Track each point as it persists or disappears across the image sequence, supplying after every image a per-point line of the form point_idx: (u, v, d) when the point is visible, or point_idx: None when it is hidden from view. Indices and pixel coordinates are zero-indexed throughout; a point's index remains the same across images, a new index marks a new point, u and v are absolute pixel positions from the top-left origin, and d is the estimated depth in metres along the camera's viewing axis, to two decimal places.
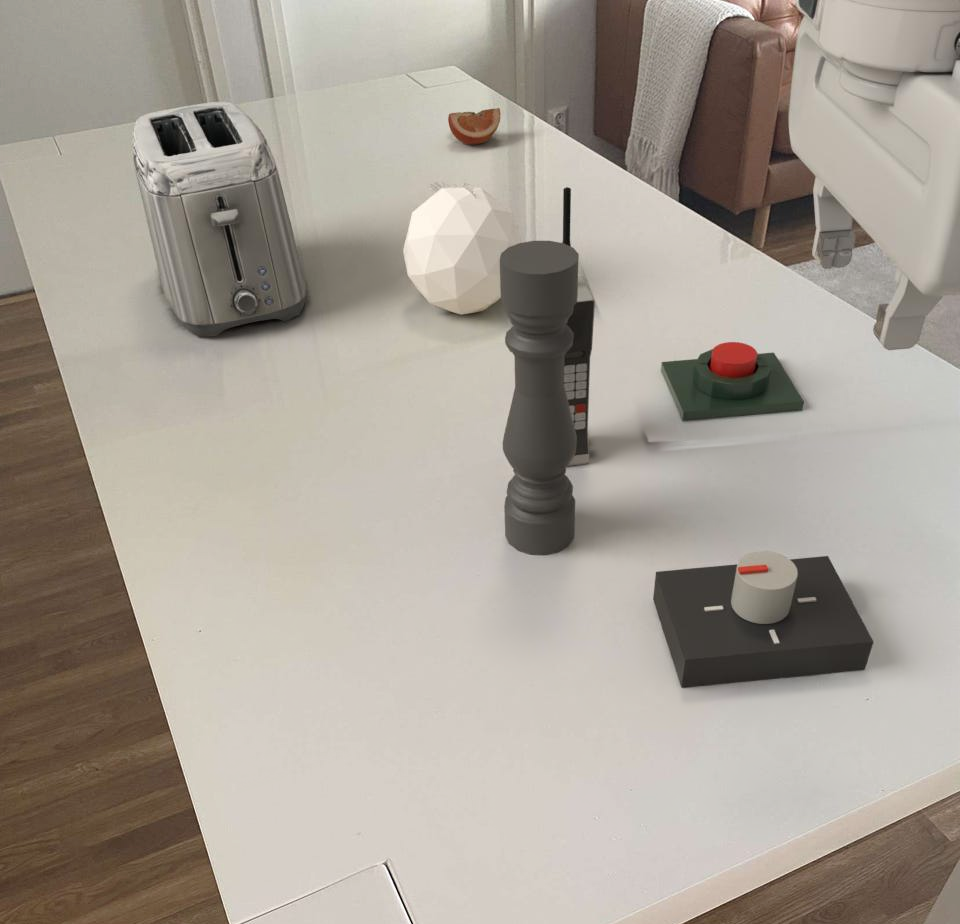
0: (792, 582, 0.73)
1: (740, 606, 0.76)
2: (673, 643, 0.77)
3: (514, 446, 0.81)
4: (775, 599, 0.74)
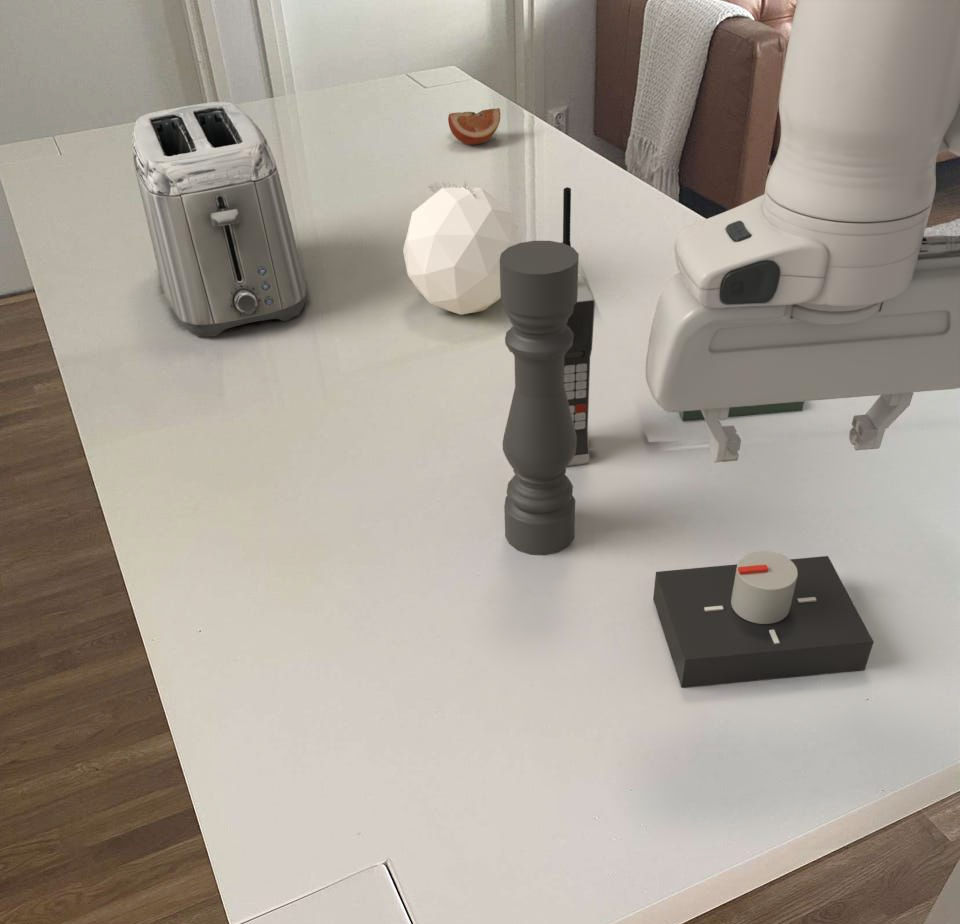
0: (792, 582, 0.73)
1: (740, 606, 0.76)
2: (673, 643, 0.77)
3: (514, 446, 0.81)
4: (775, 599, 0.74)
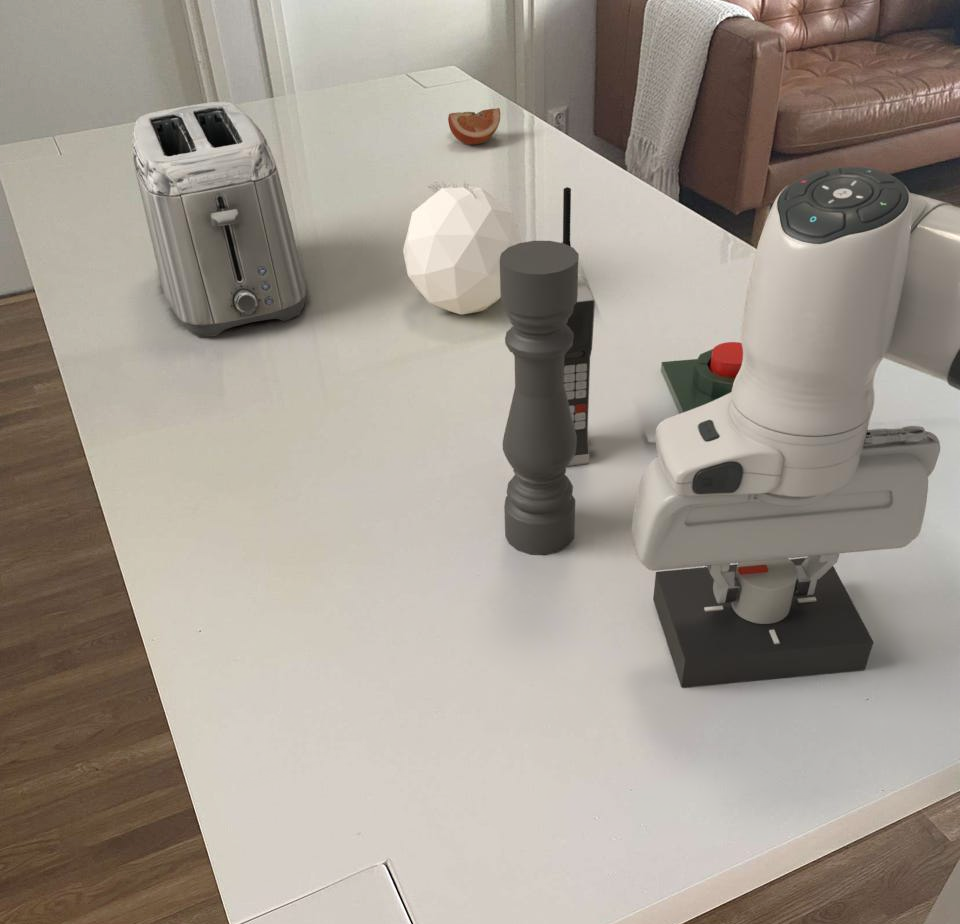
0: (792, 582, 0.73)
1: (740, 606, 0.76)
2: (673, 643, 0.77)
3: (514, 446, 0.81)
4: (775, 599, 0.74)
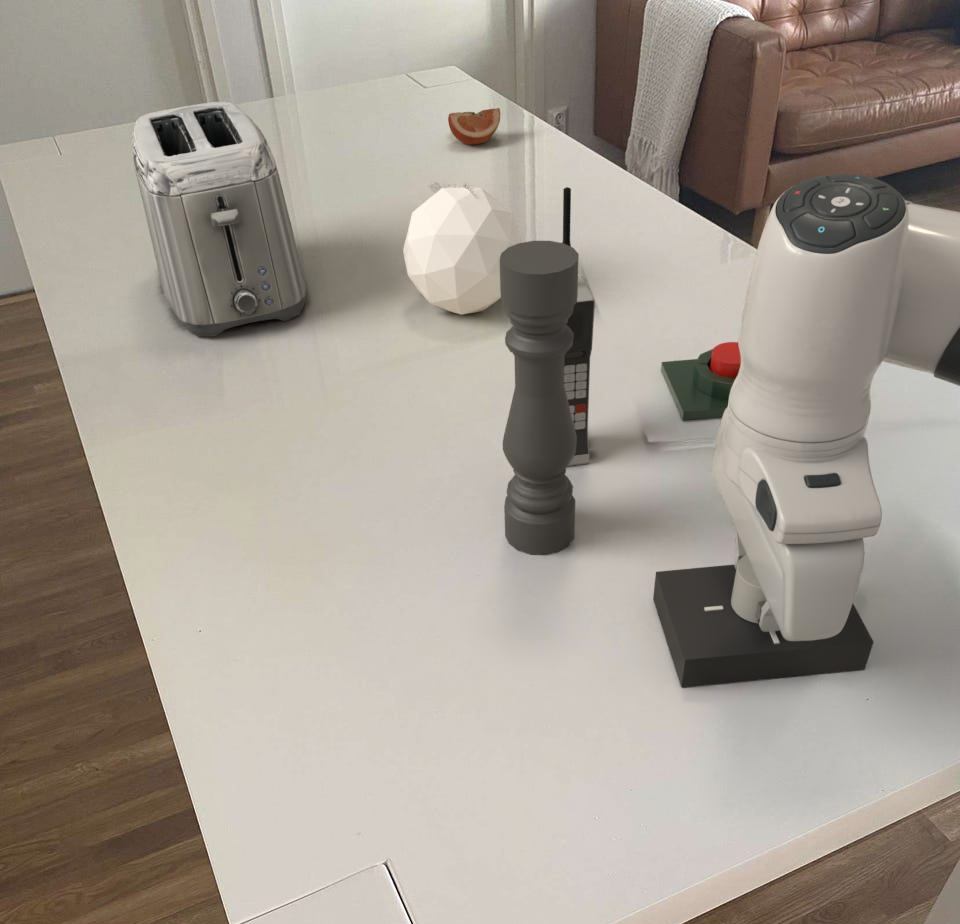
0: None
1: None
2: (673, 643, 0.77)
3: (514, 446, 0.81)
4: None
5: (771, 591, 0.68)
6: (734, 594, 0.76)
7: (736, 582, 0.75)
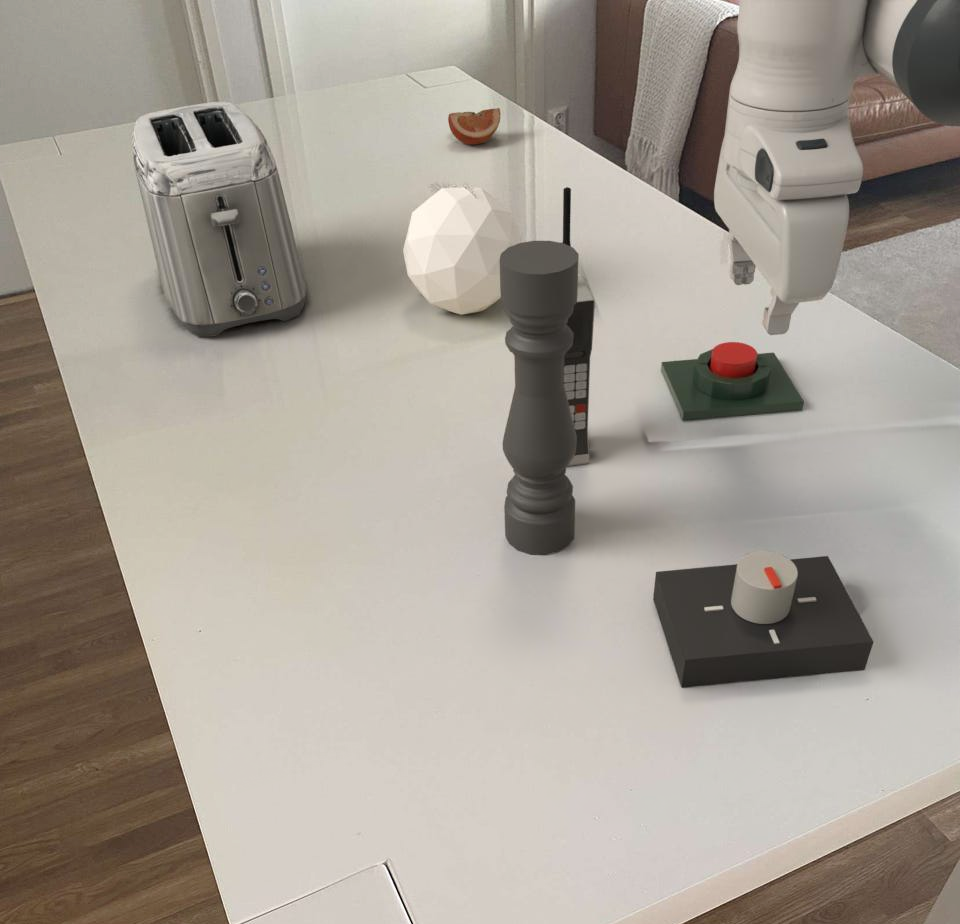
0: (781, 555, 0.76)
1: (784, 610, 0.75)
2: (673, 643, 0.77)
3: (514, 446, 0.81)
4: None
5: (769, 266, 0.78)
6: (734, 594, 0.76)
7: (736, 582, 0.75)
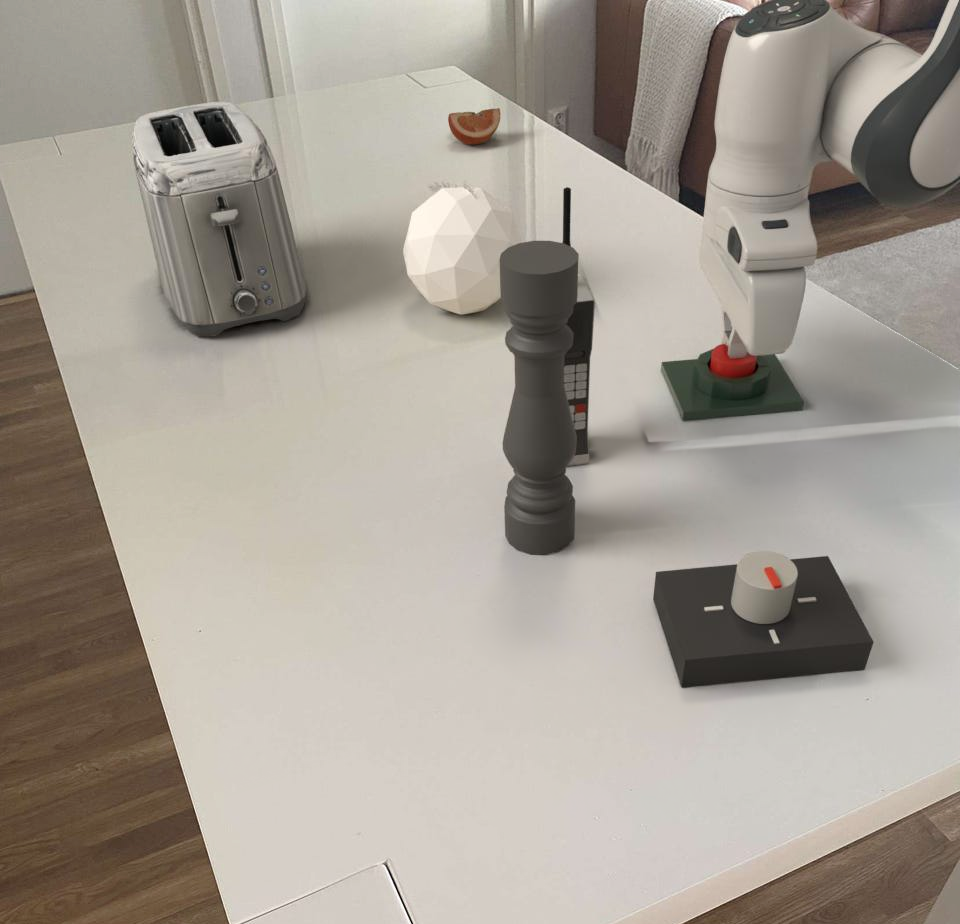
0: (781, 555, 0.76)
1: (784, 610, 0.75)
2: (673, 643, 0.77)
3: (514, 446, 0.81)
4: None
5: (740, 323, 0.91)
6: (734, 594, 0.76)
7: (736, 582, 0.75)
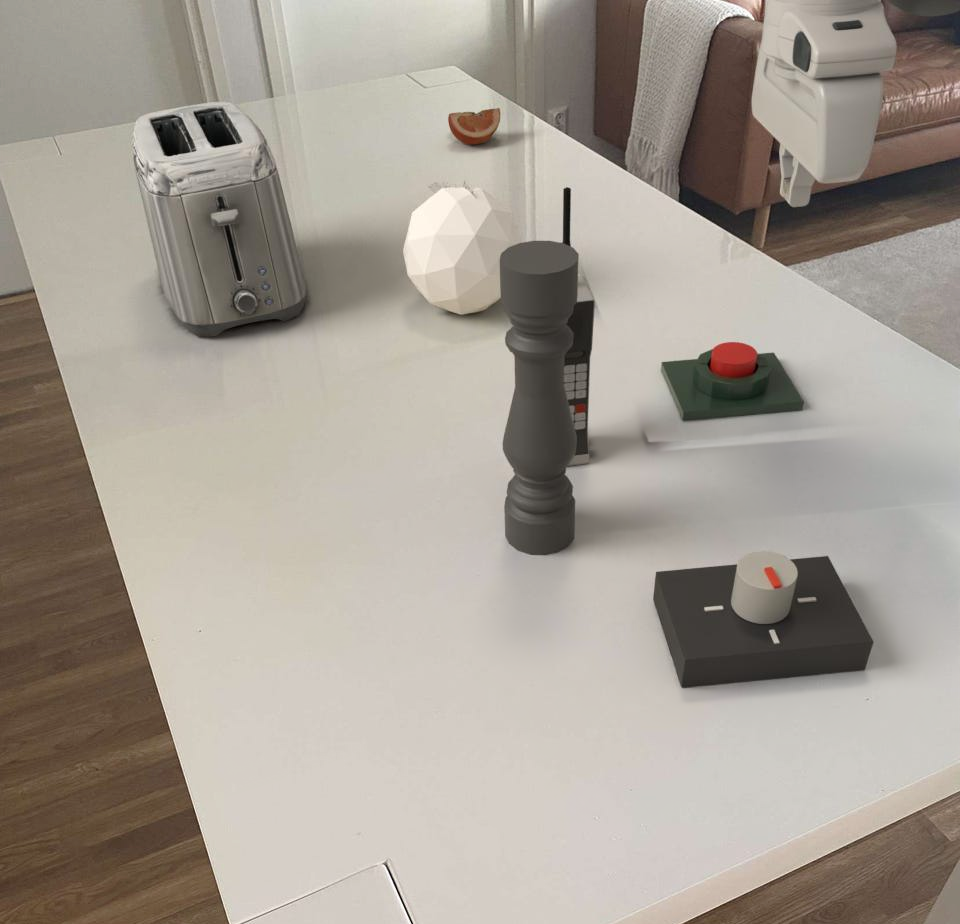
0: (781, 555, 0.76)
1: (784, 610, 0.75)
2: (673, 643, 0.77)
3: (514, 446, 0.81)
4: None
5: (806, 150, 0.82)
6: (734, 594, 0.76)
7: (736, 582, 0.75)
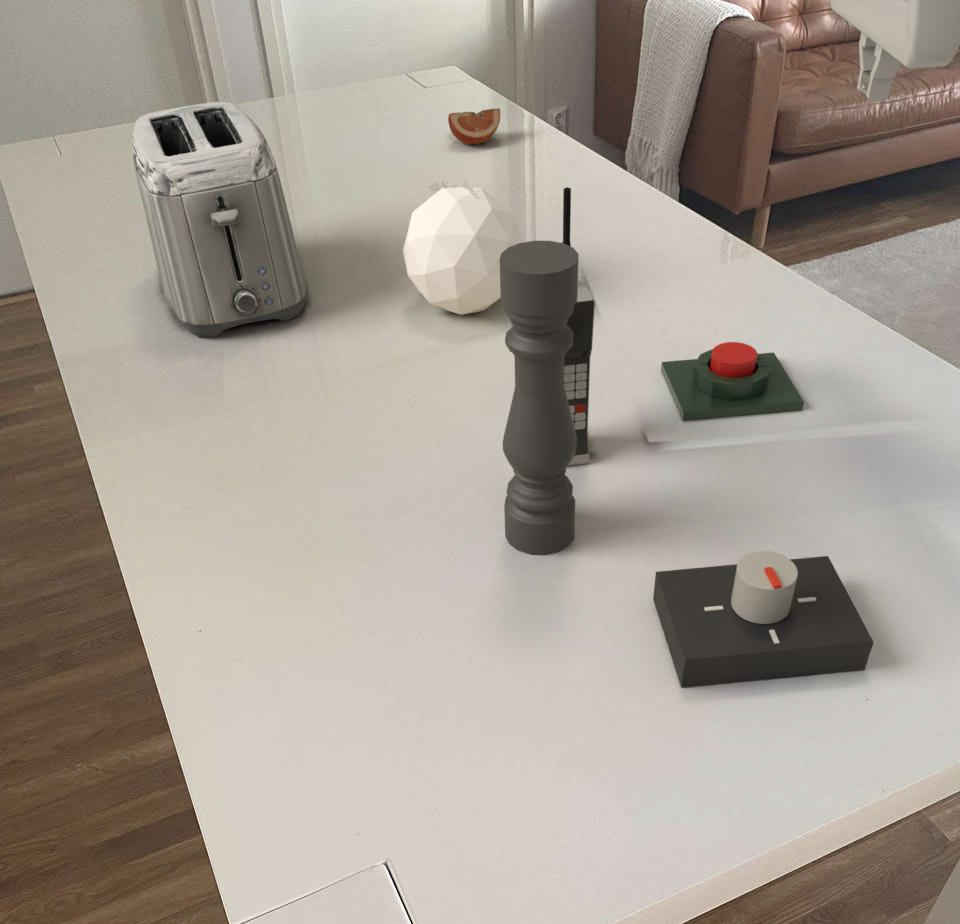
0: (781, 555, 0.76)
1: (784, 610, 0.75)
2: (673, 643, 0.77)
3: (514, 446, 0.81)
4: None
5: (893, 34, 0.79)
6: (734, 594, 0.76)
7: (736, 582, 0.75)
